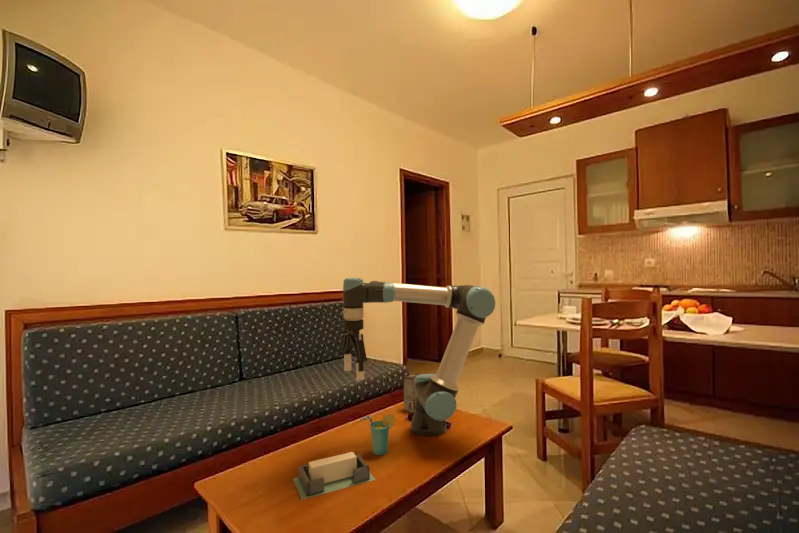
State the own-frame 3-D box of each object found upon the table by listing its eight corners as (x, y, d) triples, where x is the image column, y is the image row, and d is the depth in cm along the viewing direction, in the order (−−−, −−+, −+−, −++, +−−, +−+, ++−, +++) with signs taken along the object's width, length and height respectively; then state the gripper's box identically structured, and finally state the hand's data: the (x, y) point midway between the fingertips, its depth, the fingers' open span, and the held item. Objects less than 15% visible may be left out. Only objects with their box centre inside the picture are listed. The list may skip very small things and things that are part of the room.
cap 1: (306, 496, 120) (306, 483, 120) (298, 478, 130) (298, 466, 130) (324, 492, 122) (324, 479, 122) (314, 474, 132) (314, 462, 132)
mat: (361, 462, 141) (361, 461, 141) (375, 480, 129) (375, 479, 129) (292, 479, 130) (292, 478, 130) (301, 501, 118) (301, 499, 118)
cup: (366, 463, 140) (365, 421, 140) (356, 454, 147) (355, 414, 147) (399, 452, 148) (398, 412, 148) (388, 444, 154) (388, 406, 154)
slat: (352, 469, 134) (352, 451, 134) (356, 474, 131) (356, 456, 131) (308, 480, 128) (308, 462, 128) (311, 486, 124) (311, 467, 124)
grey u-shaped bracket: (357, 463, 139) (357, 452, 139) (369, 479, 129) (369, 467, 129) (342, 467, 137) (342, 455, 137) (354, 483, 126) (354, 471, 126)
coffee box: (415, 404, 198) (415, 372, 197) (425, 407, 193) (425, 375, 193) (403, 409, 191) (403, 376, 191) (413, 413, 186) (413, 379, 186)
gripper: (333, 315, 158) (334, 368, 159) (355, 324, 136) (356, 385, 136) (351, 314, 162) (351, 366, 162) (375, 322, 140) (376, 382, 140)
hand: (353, 375), depth 149 cm, fingers open, 13 cm apart
